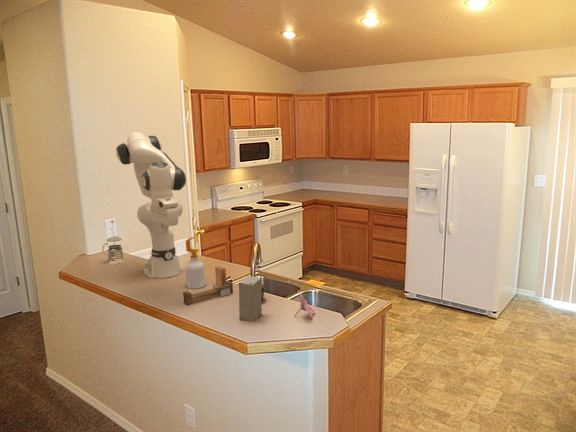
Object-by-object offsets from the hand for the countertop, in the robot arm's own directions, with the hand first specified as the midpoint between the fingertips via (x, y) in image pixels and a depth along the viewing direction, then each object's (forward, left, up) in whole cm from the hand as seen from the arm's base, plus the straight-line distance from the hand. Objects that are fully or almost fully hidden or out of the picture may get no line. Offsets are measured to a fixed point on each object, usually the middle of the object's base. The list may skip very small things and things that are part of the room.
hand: (164, 233), depth 197 cm
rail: (+7, +15, -31) cm, 35 cm away
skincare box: (+38, +17, -31) cm, 52 cm away
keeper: (+7, +22, -31) cm, 39 cm away
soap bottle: (-12, +19, -31) cm, 39 cm away
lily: (+52, +33, -31) cm, 69 cm away
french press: (-82, +4, -31) cm, 88 cm away
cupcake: (+24, +28, -31) cm, 48 cm away
